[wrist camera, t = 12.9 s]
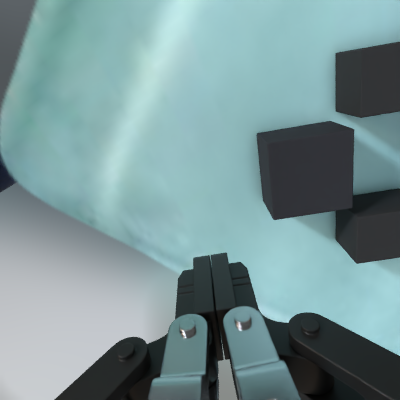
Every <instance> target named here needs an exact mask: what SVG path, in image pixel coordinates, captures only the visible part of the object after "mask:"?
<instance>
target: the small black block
mask: <svg viewBox="0 0 400 400" xmlns="http://www.w3.org/2000/svg"><path fill="white" fill-rule="evenodd" d="M257 143H258V153H259V164H260V174H261V184H262V195H263V201H264V203H265V205H266V207H267V209H268V210H269V212H270V214H271V216H272V218H273V220H278V219H284V218H290V217H297V216H303V215H310V214H316V213H323V212H329V211H336V210H342V209H349V208H352V205H353V155H354V129H352V128H349V127H346V126H343V125H340V124H337V123H335V122H332V121H328V122H322V123H316V124H310V125H304V126H298V127H292V128H286V129H280V130H274V131H268V132H262V133H257Z"/></svg>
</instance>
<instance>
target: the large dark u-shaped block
mask: <svg viewBox="0 0 400 400" xmlns="http://www.w3.org/2000/svg"><path fill="white" fill-rule="evenodd" d="M336 111H337V112H341V113H344V114H348V115H352V116H356V117H360V118H362V117H368V116H374V115H380V114H386V113H392V112H398V111H400V42H395V43H390V44H384V45H378V46H373V47H367V48H361V49H356V50H350V51H345V52H339V53H336ZM336 240H337V242H338V243H339V244H340V245H341V246H342V247H343V249H344V250H345V251H346V252H347V253H348V254H349V256H350V257H351V258H352V259H353V260H354V261H355V263H357V264H358V263H365V262H372V261H379V260H385V259H392V258H399V257H400V189H394V190H388V191H382V192H375V193H369V194H362V195H356V196H353V205H352V208H349V209H342V210H336Z"/></svg>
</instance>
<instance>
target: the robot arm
mask: <svg viewBox="0 0 400 400" xmlns="http://www.w3.org/2000/svg"><path fill="white" fill-rule="evenodd" d="M211 263H212V266H211ZM221 339H222V341H221ZM222 344H223V350H224V355H225V359H230V364H231V369H232V374H233V380H234V385H235V390H236V394H237V399H238V400H400V356H399V355H397V354H395V353H393V352H391V351H389V350H387V349H385V348H383V347H381V346H379V345H377V344H375V343H373V342H371V341H369V340H368V339H366V338H364V337H362V336H360V335H358V334H356V333H354V332H352V331H350V330H348V329H346V328H344V327H342V326H340V325H338V324H337V323H335V322H333V321H331V320H329V319H327V318H325V317H323V316H321V315H319V314H315V313H300V314H297V315H295V316H294V317H292V318H291V319H290V321H289V323H283V322H276V321H273V320H270V319H268V318H266V317H265V316H263V315H262V314H261V312H260V311H259V309H258V306H257V302H256V298H255V295H254V291H253V288H252V284H251V281H250V277H249V274H248V270H247V268H246V267H245V266H244V265H243V264H242V263H241V262H237V263H230V264H229V262H228V257H227V253H220V254H214V255H211V260H210V256H209V255H208V256H201V257H195V258H193V269H191V270H185V271H183V272H182V274H181V275H180V277H179V278H178V289H177V302H176V316H175V320H174V321H173V322H172V324H171V325H170V327H169V330H168V334H166V335H165V336H164V337H162V338H160V339H158V340H157V341H154V342H151V343H149V344H146V342H145V341H144V340H143V339H141V338H138V337H129V338H126V339H123V340H121V341H119V342H118V343H116V344H115V345H114V346H113V347H111V348H110V349H109V350H108V351H107V352H106V353H105V354H104V355H103V356H102V357H101V358H99V359H98V360H97V361H96V362H95V363H94V364H93V365H92V366H91V367H90V368H89V369H87V370H86V371H85V372H84V373H83V374H82V375H81V376H80V377H79V378H78V379H77V380H75V381H74V382H73V383H72V384H71V385H70V386H69V387H68V388H67V389H66V390H65V391H63V393H61V394H60V395H59V396H58V397H57V398H56V399H55V400H219V380H218V361H220V360H223V350H222Z"/></svg>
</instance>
